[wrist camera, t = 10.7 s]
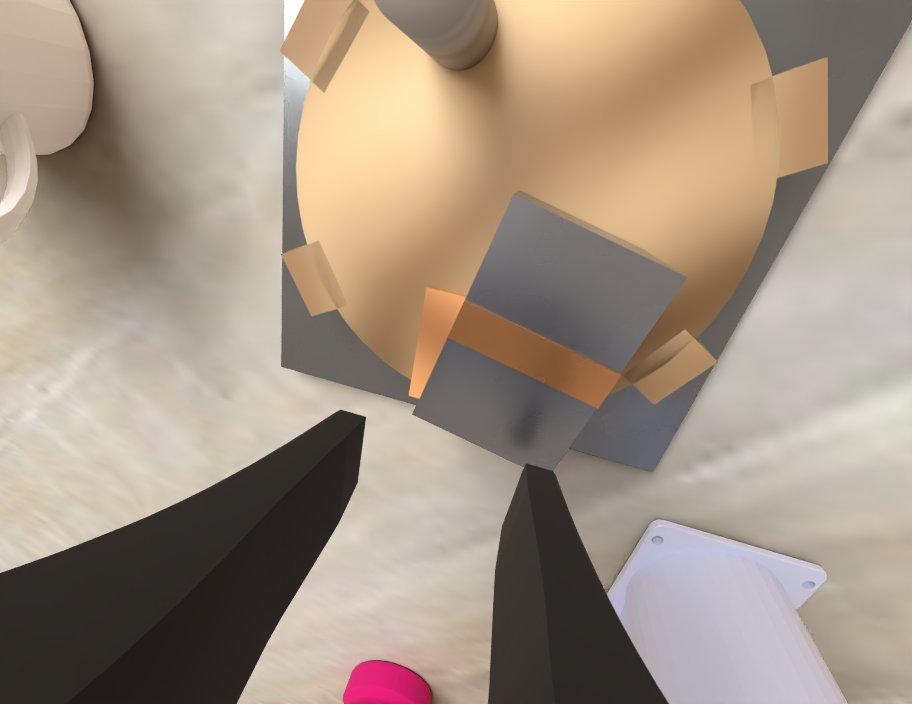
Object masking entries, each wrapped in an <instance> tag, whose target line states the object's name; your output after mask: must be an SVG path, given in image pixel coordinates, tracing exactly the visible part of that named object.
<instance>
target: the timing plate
mask: <svg viewBox="0 0 912 704" xmlns="http://www.w3.org/2000/svg"><path fill="white" fill-rule="evenodd" d="M740 1H741V3H742V4H743V6H744V7H745V9H746V10H747V12H748V13H749V15H750V17H751V20H752V22H753V24H754V26H755V28H756V31H757V33H758V35H759V37H760V40H761V42H762V44H763V46H764V48H765V51H766V54H767V58H768V62H769V66H770V69H771V73H772V76H774V75H777V74H779V73H782V72H785V71H788V70H790V69H793V68H796V67H799V66H802V65H805V64H808V63H811V62H814V61H817V60H820V59H823V58H826V57H828V163H826V164H823V165H820V166H816V167H813V168H810V169H806V170H803V171H799V172H796V173H793V174H789V175H786V176H783V177H779V178H777V182H776V188H775V193H774V199H773V204H772V208H771V211H770V214H769V217H768V221H767V224H766V227H765V230H764V234H763V237H762V239H761V241H760V244H759V246H758V248H757V250H756V253H755V255H754V257H753V259H752V261H751V264H750V266H749V268H748V270H747V272H746V273H745V275H744V277H743V278H742V280H741V282H740V283H739V285H738V286H737V288H736V290H735V291H734V293H733V295H732V296H731V298H730V299H729V301H728V302H727V303H726V304H725V306H724V307H723V308H722V310H721V311H720V312H719V313H718V315H717V316H716V317H715V318H714V320H713V321H712V322H711V324H710V325H709V326H708V327H707V328H706V329H705V330H704V331H703V332H702V333H701V334H700V335H699V336H698V337H697V339H698V340H699V341H700V342H701V343H702V344H703V345H704V346H705V348H706V349H707V350H708V351H709V352H710V353H711V355H712V356H713V357H714V358H715V359H716V361H717V359H718V358H719V356H720V354H721V352H722V351H723V349H724V347H725V345H726V344H727V342H728V340H729V338H730V337H731V335H732V333H733V331H734V330H735V328H736V326H737V324H738V323H739V321H740V319H741V317H742V316H743V314H744V312H745V310H746V309H747V307H748V305H749V303H750V302H751V300H752V298H753V296H754V295H755V293H756V291H757V289H758V288H759V286H760V284H761V282H762V281H763V279H764V277H765V275H766V274H767V272H768V270H769V268H770V267H771V265H772V263H773V261H774V260H775V258H776V256H777V254H778V253H779V251H780V249H781V247H782V246H783V244H784V242H785V240H786V239H787V237H788V235H789V233H790V232H791V230H792V228H793V226H794V225H795V223H796V221H797V219H798V218H799V216H800V214H801V212H802V211H803V209H804V207H805V205H806V204H807V202H808V200H809V198H810V197H811V195H812V193H813V191H814V190H815V188H816V186H817V184H818V183H819V181H820V179H821V177H822V176H823V174H824V172H825V170H826V169H827V167H828V165H829V163H830V162H831V160H832V158H833V156H834V155H835V153H836V151H837V149H838V148H839V146H840V144H841V142H842V141H843V139H844V137H845V135H846V134H847V132H848V130H849V128H850V127H851V125H852V123H853V121H854V120H855V118H856V116H857V114H858V113H859V111H860V109H861V107H862V106H863V104H864V102H865V100H866V99H867V97H868V95H869V94H870V92H871V90H872V88H873V87H874V85H875V83H876V81H877V80H878V78H879V76H880V74H881V73H882V71H883V69H884V67H885V66H886V64H887V62H888V60H889V59H890V57H891V55H892V53H893V52H894V50H895V48H896V46H897V45H898V43H899V41H900V39H901V38H902V36H903V34H904V32H905V31H906V29H907V27H908V25H909V24H910V22H911V20H912V0H740ZM303 2H304V0H285V33H284V41H285V39H286V37H287V35H288V33H289V31H290V29H291V27H292V25H293V23H294V21H295V19H296V16H297V14H298V12H299V10H300V8H301V6H302V4H303ZM310 82H311V80H310V79H309V78H308V77H307V76H306V75H305V74H304V73H302V72H301V71H300V70H299V69H298V68H297V67H296V66H295V65H294V64H293V63H292V62H291V61H290V60H289V59H288V58H287V57H286V56H285V55H284V140H283V247H282V254H283V253H286V252H288V251H291V250H293V249H296V248H298V247H301V246H304V245H306V244H307V242H306V238H305V235H304V231H303V227H302V222H301V216H300V210H299V203H298V197H297V176H296V160H297V145H298V133H299V128H300V122H301V117H302V112H303V106H304V101H305V98H306V95H307V92H308V89H309V85H310ZM714 365H715V364H714ZM714 365H713V366H714ZM713 366H711V367H710V368H708V369H707V370H705V371H704V372H702V373H701V374H699V375H698V376H696V377H695V378H693V379H692V380H690V381H689V382H687V383H686V384H684V385H683V386H681V387H680V388H678V389H677V390H675V391H674V392H672V393H671V394H669V395H668V396H666V397H665V398H663V399H662V400H660V401H659V402H658V403H656V404H655V405H654V404H653V403H651V402H650V401H649V400H648V399H647V398H646V397H645V396H644V395H643V394H642V393H641V392H640V391H639V390H638V389H637V388H636V387H635V386H633V385H630V386H628V387H626V388H624V389H621V390H619V391H617V392H615V393H613V394H610V395H607V397H606V398H605V400H604V401H603V402H602V404H601V405H600V407H599V408H598V409H597V408H596V410H595V411H594V412H593V414H592V415H591V417H590V418H589V420H588V421H587V423H586V424H585V425H584V427H583V428H582V430H581V431H580V433H579V434H578V435H577V437H576V438H575V440H574V441H573V443H572V444H571V446H570V447H569V449H572V450H576V451H580V452H583V453H587V454H590V455H594V456H597V457H601V458H604V459H608V460H611V461H615V462H618V463H622V464H625V465H629V466H632V467H636V468H639V469H643V470H646V471H650V472H653V471H654V470H655V468H656V466H657V464H658V463H659V461H660V459H661V457H662V456H663V454H664V452H665V450H666V449H667V447H668V445H669V443H670V442H671V440H672V438H673V436H674V435H675V433H676V431H677V429H678V428H679V426H680V424H681V422H682V421H683V419H684V417H685V415H686V414H687V412H688V410H689V408H690V407H691V405H692V403H693V401H694V400H695V398H696V396H697V394H698V393H699V391H700V389H701V387H702V386H703V384H704V382H705V380H706V379H707V377H708V375H709V373H710V372H711V370H712V368H713ZM281 367H284V368H288V369H291V370H295V371H298V372H302V373H305V374H309V375H312V376H316V377H319V378H323V379H327V380H330V381H334V382H337V383H341V384H344V385H348V386H351V387H355V388H358V389H362V390H365V391H369V392H372V393H376V394H379V395H383V396H386V397H390V398H393V399H397V400H400V401H404V402H407V403H411V404H414V405H417V403H418V401H419V398H415V397H412V396H409V390H410V384H411V380H410V379H408V378H407V377H405V376H403V375H402V374H400V373H399V372H398V371H396V370H395V369H394V368H392V367H391V366H390V365H388V364H387V363H386V362H384V361H383V360H382V359H380V358H379V357H378V356H377V355H376V354H375V353H374V352H373V351H372V350H371V349H370V348H369V347H368V346H367V345H365V344H364V343H363V342H362V340H361V339H360V338H359V337H358V336H357V335H356V333H355V332H354V331H353V330H352V329H351V328H350V326H349V325H348V324H347V323H346V321H345V320H344V318H343V317H342V315H341V314H340V313H339V311H338V310H337V309H335V310H332V311H328V312H325V313H321V314H318V315H315V316H311V314H310V312H309V310H308V308H307V306H306V304H305V302H304V300H303V298H302V296H301V294H300V292H299V290H298V288H297V286H296V284H295V282H294V280H293V278H292V276H291V274H290V271H289V269H288V267H287V265H286V263H285V261H284V259H283V257H282V354H281Z"/></svg>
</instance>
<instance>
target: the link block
mask: <svg viewBox="0 0 912 704" xmlns="http://www.w3.org/2000/svg"><path fill="white" fill-rule="evenodd" d="M686 279H687V277H686V276H685V275H683V274H682V273H680V272H678V271H677V270H675V269H674V268H672V267H670V266H669V265H667V264H666V263H664V262H663V261H661V260H659V259H658V258H656V257H655V256H653V255H651V254H650V253H648V252H647V251H645V250H643V249H642V248H640V247H638V246H636V245H633V244H631V243H629V242H627V241H625V240H623V239H621V238H619V237H617V236H615V235H613V234H610V233H608V232H606V231H604V230H602V229H600V228H598V227H596V226H594V225H592V224H589V223H587V222H585V221H583V220H581V219H579V218H577V217H575V216H573V215H571V214H569V213H566V212H564V211H562V210H560V209H558V208H556V207H554V206H552V205H550V204H548V203H545V202H543V201H541V200H539V199H537V198H535V197H533V196H531V195H529V194H527V193H524V192H522V191H520V190H519V191H518V192H516V193H514V194H513V196H512V198H511V200H510V203H509V205H508V207H507V209H506V211H505V213H504V216H503V218H502V220H501V222H500V224H499V227H498V229H497V231H496V233H495V235H494V237H493V240H492V242H491V244H490V246H489V248H488V251H487V253H486V255H485V257H484V259H483V261H482V264H481V266H480V268H479V270H478V272H477V274H476V277H475V279H474V281H473V283H472V285H471V288H470V290H469V292H468V294H467V296H466V298H465V300H464V302H463V305H462V307H461V309H460V311H459V313H458V316H457V318H456V320H455V322H454V324H453V326H452V329H451V331H450V333H449V335H448V338H447V340H446V342H445V344H444V346H443V349H442V351H441V353H440V355H439V357H438V359H437V362H436V364H435V366H434V368H433V370H432V373H431V375H430V377H429V379H428V381H427V383H426V386H425V388H424V390H423V392H422V394H421V396H420V399H419V401H418V403H417V405H416V407H415V410H414V412H413V414H412V415H414V416H417V417H419V418H421V419H423V420H425V421H427V422H429V423H431V424H433V425H436V426H438V427H440V428H442V429H444V430H446V431H448V432H450V433H453V434H455V435H457V436H459V437H461V438H463V439H465V440H467V441H469V442H472V443H474V444H476V445H478V446H480V447H482V448H484V449H486V450H488V451H491V452H493V453H495V454H497V455H499V456H501V457H503V458H505V459H507V460H510V461H512V462H514V463H516V464H518V465H520V466H522V467H525V464H526V463H527V464H530V465H534V466H537V467H541V468H544V469H548V470H551V471H553V470H554V468H555V467H556V466H557V464H558V463H559V461H560V460H561V458H562V457H563V456H564V454H565V453H566V451H567V450H568V448H569V447H570V446H571V444H572V443H573V441H574V440H575V438H576V437H577V435H578V434H579V433H580V431H581V430H582V428H583V427H584V425H585V424H586V423H587V421H588V420H589V418H590V417H591V415H592V414H593V412H594V411H595V410H596V408H597V409H598V408H599V407H600V405H601V404H602V402H603V401H604V400H605V398H606V397H607V395H608V394H609V392H610V391H611V390H612V388H613V387H614V385H615V384H616V382H617V381H618V380H619V378H620V377H621V372H622V371H623V369H624V368H625V366H626V365H627V364H628V362H629V361H630V359H631V358H632V356H633V355H634V354H635V352H636V351H637V349H638V348H639V346H640V345H641V344H642V342H643V341H644V339H645V338H646V336H647V335H648V333H649V332H650V331H651V329H652V328H653V326H654V325H655V323H656V322H657V321H658V319H659V318H660V316H661V315H662V313H663V312H664V310H665V309H666V308H667V306H668V305H669V303H670V302H671V300H672V299H673V298H674V296H675V295H676V293H677V292H678V290H679V289H680V287H681V286H682V285H683V283H684V282H685V280H686Z"/></svg>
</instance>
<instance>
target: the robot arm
mask: <svg viewBox="0 0 912 704" xmlns="http://www.w3.org/2000/svg"><path fill="white" fill-rule="evenodd" d="M365 420H366V417H364V416H361V415H357V414H354V413H350V412H347V411H343V410H339V411H337V412H336V413H334V414H332V415H331V416H329V417H328V418H326V419H325V420H323V421H321V422H320V423H318V424H317V425H315V426H314V427H312V428H311V429H309V430H307V431H306V432H304V433H303V434H301V435H300V436H298V437H296V438H295V439H293V440H292V441H290V442H288V443H287V444H285V445H283V446H282V447H280V448H278V449H277V450H275V451H273V452H272V453H270V454H268V455H267V456H265V457H263V458H262V459H260V460H258V461H257V462H255V463H253V464H251V465H250V466H248V467H246V468H244V469H242V470H240V471H239V472H237V473H235V474H233V475H231V476H229V477H228V478H226V479H224V480H222V481H220V482H218V483H216V484H215V485H213V486H211V487H209V488H207V489H205V490H203V491H201V492H199V493H197V494H195V495H193V496H191V497H189V498H187V499H185V500H183V501H181V502H179V503H176V504H174V505H172V506H170V507H168V508H166V509H163V510H161V511H159V512H157V513H155V514H153V515H150V516H148V517H146V518H144V519H141V520H139V521H136V522H134V523H132V524H129V525H127V526H124V527H122V528H119V529H117V530H114V531H112V532H109V533H107V534H104V535H102V536H99V537H97V538H94V539H92V540H89V541H87V542H84V543H82V544H79V545H77V546H74V547H72V548H69V549H66V550H64V551H61V552H59V553H56V554H53V555H50V556H48V557H45V558H42V559H39V560H36V561H34V562H31V563H28V564H25V565H22V566H19V567H17V568H14V569H11V570H8V571H5V572H2V573H0V704H237V702H238V700H239V698H240V696H241V694H242V692H243V690H244V688H245V686H246V684H247V682H248V680H249V678H250V676H251V674H252V672H253V670H254V668H255V666H256V664H257V662H258V660H259V658H260V656H261V654H262V652H263V650H264V648H265V646H266V644H267V642H268V640H269V638H270V637H271V635H272V633H273V631H274V630H275V628H276V626H277V624H278V622H279V621H280V619H281V617H282V616H283V614H284V612H285V611H286V609H287V607H288V606H289V604H290V603H291V601H292V599H293V598H294V596H295V594H296V593H297V591H298V589H299V588H300V586H301V585H302V583H303V581H304V580H305V578H306V576H307V575H308V573H309V571H310V570H311V568H312V567H313V565H314V563H315V562H316V560H317V558H318V557H319V555H320V553H321V552H322V550H323V548H324V547H325V545H326V543H327V542H328V540H329V538H330V537H331V535H332V534H333V532H334V530H335V528H336V527H337V525H338V523H339V521H340V519H341V517H342V515H343V513H344V511H345V509H346V507H347V505H348V502H349V500H350V498H351V496H352V494H353V491H354V489H355V487H356V485H357V483H358V475H359V467H360V460H361V452H362V444H363V436H364V428H365ZM656 536H659V537H656ZM826 579H827V574H826V573H825V571H824V570H823V568H822V567H821V566H819V565H816V564H813V563H810V562H806V561H803V560H799V559H796V558H792V557H789V556H786V555H782V554H779V553H775V552H772V551H768V550H765V549H762V548H758V547H755V546H751V545H748V544H745V543H741V542H738V541H734V540H731V539H727V538H724V537H721V536H717V535H714V534H710V533H707V532H704V531H700V530H697V529H693V528H690V527H686V526H683V525H680V524H676V523H673V522H669V521H666V520H655V521H653V522H651V523H650V525H649V526H648V528H647V530H646V531H645V533H644V534H643V536H642V538H641V539H640V541H639V543H638V544H637V546H636V547H635V549H634V551H633V552H632V554H631V556H630V557H629V559H628V560H627V562H626V564H625V565H624V567H623V569H622V570H621V572H620V573H619V575H618V577H617V578H616V580H615V582H614V583H613V585H612V586H611V588H610V590H609V591H608V593H607V594H606V592H605V590H604V588H603V586H602V584H601V582H600V580H599V578H598V575H597V573H596V571H595V569H594V567H593V565H592V563H591V560H590V558H589V556H588V554H587V552H586V549H585V547H584V545H583V543H582V541H581V538H580V536H579V534H578V531H577V529H576V527H575V524H574V522H573V519H572V517H571V514H570V512H569V509H568V507H567V504H566V502H565V499H564V497H563V494H562V491H561V489H560V486H559V483H558V480H557V478H556V475H555V474H554V472H553V471H551V470H548V469H544V468H541V467H537V466H534V465H530V464H527V463H526V464H525V467H524V469H523V472H522V475H521V477H520V480H519V483H518V485H517V488H516V491H515V493H514V496H513V499H512V501H511V504H510V507H509V509H508V512H507V515H506V517H505V520H504V523H503V525H502V530H501V537H500V543H499V549H498V556H497V562H496V569H495V583H494V603H493V623H492V644H491V665H490V686H489V699H488V704H848V702H847V701H846V699H845V697H844V695H843V693H842V692H841V690H840V688H839V686H838V684H837V683H836V681H835V679H834V677H833V675H832V674H831V672H830V670H829V668H828V666H827V665H826V663H825V661H824V659H823V657H822V656H821V654H820V652H819V650H818V648H817V647H816V645H815V643H814V641H813V640H812V638H811V636H810V634H809V632H808V631H807V629H806V627H805V625H804V623H803V622H802V620H801V618H800V616H799V614H798V613H797V611H796V610H797V609H798V608H799V607H800V606H801V605H802V604H803V603H804V602H805V601H806V600H807V599H808V598H809V597H810V596H811V595H812V594H813V593H814V592H815V591H816V590H817V589H818V588H819V587H820V586H821V585H822V584H823V583H824V582H825V581H826Z"/></svg>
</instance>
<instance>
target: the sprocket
mask: <svg viewBox="0 0 912 704" xmlns="http://www.w3.org/2000/svg"><path fill="white" fill-rule="evenodd" d="M280 52H281V53H282V54H283V55H285V56H286V57H287V58H288V59H289V60H290V61H291V62H292V63H293V64H294V65H295V66H296V67H297V68H298V69H299V70H300V71H301V72H302V73H304V74H305V75H306V76H307V77H308V78H309V79H310V80H311V82H310V85H309V89H308V92H307V95H306V98H305V101H304V106H303V112H302V117H301V122H300V128H299V133H298V145H297V160H296V176H297V197H298V203H299V210H300V216H301V222H302V227H303V231H304V235H305V238H306V242H307V244H306V245H304V246H301V247H298V248H296V249H293V250H291V251H288V252H286V253H283V254H281V255H282V257H283V259H284V261H285V263H286V265H287V267H288V269H289V271H290V274H291V276H292V278H293V280H294V282H295V284H296V286H297V288H298V290H299V292H300V294H301V296H302V298H303V300H304V302H305V304H306V306H307V308H308V310H309V312H310V314H311V316H315V315H318V314H321V313H325V312H328V311H332V310H335V309H337V310H338V311H339V313H340V314H341V315H342V317H343V318H344V320H345V321H346V323H347V324H348V325H349V326H350V328H351V329H352V330H353V331H354V332H355V333H356V335H357V336H358V337H359V338H360V339H361V340H362V342H363V343H364V344H365V345H367V346H368V347H369V348H370V349H371V350H372V351H373V352H374V353H375V354H376V355H377V356H378V357H379V358H380V359H382V360H383V361H384V362H386V363H387V364H388V365H390V366H391V367H392V368H394V369H395V370H396V371H398V372H399V373H400V374H402V375H403V376H405V377H407V378H408V379H410V380H411V384H410V390H409V396H412V397H415V398H419V399H420V396H421V394H422V392H423V390H424V388H425V386H426V383H427V381H428V379H429V377H430V375H431V373H432V370H433V368H434V366H435V364H436V362H437V359H438V357H439V355H440V353H441V351H442V349H443V346H444V344H445V342H446V340H447V338H448V335H449V333H450V331H451V329H452V326H453V324H454V322H455V320H456V318H457V316H458V313H459V311H460V309H461V307H462V305H463V302H464V300H465V298H466V296H467V294H468V292H469V290H470V288H471V285H472V283H473V281H474V279H475V277H476V274H477V272H478V270H479V268H480V266H481V264H482V261H483V259H484V257H485V255H486V253H487V251H488V248H489V246H490V244H491V242H492V240H493V237H494V235H495V233H496V231H497V229H498V227H499V224H500V222H501V220H502V218H503V216H504V213H505V211H506V209H507V207H508V205H509V203H510V200H511V198H512V196H513V194H514V193H516V192H518V191H519V190H520V191H522V192H524V193H527V194H529V195H531V196H533V197H535V198H537V199H539V200H541V201H543V202H545V203H548V204H550V205H552V206H554V207H556V208H558V209H560V210H562V211H564V212H566V213H569V214H571V215H573V216H575V217H577V218H579V219H581V220H583V221H585V222H587V223H589V224H592V225H594V226H596V227H598V228H600V229H602V230H604V231H606V232H608V233H610V234H613V235H615V236H617V237H619V238H621V239H623V240H625V241H627V242H629V243H631V244H633V245H636V246H638V247H640V248H642V249H643V250H645V251H647V252H648V253H650V254H651V255H653V256H655V257H656V258H658V259H659V260H661V261H663V262H664V263H666V264H667V265H669V266H670V267H672V268H674V269H675V270H677V271H678V272H680V273H682V274H683V275H685V276H686V277H687V279H686V280H685V282H684V283H683V285H682V286H681V287H680V289H679V290H678V292H677V293H676V295H675V296H674V298H673V299H672V300H671V302H670V303H669V305H668V306H667V308H666V309H665V310H664V312H663V313H662V315H661V316H660V318H659V319H658V321H657V322H656V323H655V325H654V326H653V328H652V329H651V331H650V332H649V333H648V335H647V336H646V338H645V339H644V341H643V342H642V344H641V345H640V346H639V348H638V349H637V351H636V352H635V354H634V355H633V356H632V358H631V359H630V361H629V362H628V364H627V365H626V366H625V368H624V369H623V371H622V372H621V377H620V378H619V380H618V381H617V382H616V384H615V385H614V387H613V388H612V390H611V391H610V392H609V394H608V395H610V394H613V393H615V392H617V391H619V390H621V389H624V388H626V387H628V386H630V385H633V386H635V387H636V388H637V389H638V390H639V391H640V392H641V393H642V394H643V395H644V396H645V397H646V398H647V399H648V400H649V401H650V402H651V403H653V404H654V405H655V404H656V403H658V402H659V401H660V400H662V399H663V398H665V397H666V396H668V395H669V394H671V393H672V392H674V391H675V390H677V389H678V388H680V387H681V386H683V385H684V384H686V383H687V382H689V381H690V380H692V379H693V378H695V377H696V376H698V375H699V374H701V373H702V372H704V371H705V370H707V369H708V368H710V367H711V366H713V365H714V364H716V363H717V361H716V359H715V358H714V357H713V356H712V355H711V353H710V352H709V351H708V350H707V349H706V348H705V346H704V345H703V344H702V343H701V342H700V341H699V340H698V339H697V337H698V336H699V335H700V334H701V333H702V332H703V331H704V330H705V329H706V328H707V327H708V326H709V325H710V324H711V322H712V321H713V320H714V318H715V317H716V316H717V315H718V313H719V312H720V311H721V310H722V308H723V307H724V306H725V304H726V303H727V302H728V301H729V299H730V298H731V296H732V295H733V293H734V291H735V290H736V288H737V286H738V285H739V283H740V282H741V280H742V278H743V277H744V275H745V273H746V272H747V270H748V268H749V266H750V264H751V261H752V259H753V257H754V255H755V253H756V250H757V248H758V246H759V244H760V241H761V239H762V237H763V234H764V230H765V227H766V224H767V221H768V217H769V214H770V211H771V208H772V204H773V199H774V193H775V188H776V182H777V178H779V177H783V176H786V175H789V174H793V173H796V172H799V171H803V170H806V169H810V168H813V167H816V166H820V165H823V164H826V163H828V57H826V58H823V59H820V60H817V61H814V62H811V63H808V64H805V65H802V66H799V67H796V68H793V69H790V70H788V71H785V72H782V73H779V74H777V75H774V76H772V73H771V69H770V66H769V62H768V58H767V54H766V51H765V48H764V46H763V44H762V42H761V40H760V37H759V35H758V33H757V31H756V28H755V26H754V24H753V22H752V20H751V17H750V15H749V13H748V12H747V10H746V9H745V7H744V6H743V4H742V3H741V1H740V0H304V2H303V4H302V6H301V8H300V10H299V12H298V14H297V16H296V19H295V21H294V23H293V25H292V27H291V29H290V31H289V33H288V35H287V37H286V39H285V41H284V43H283V45H282V47H281V49H280Z"/></svg>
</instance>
